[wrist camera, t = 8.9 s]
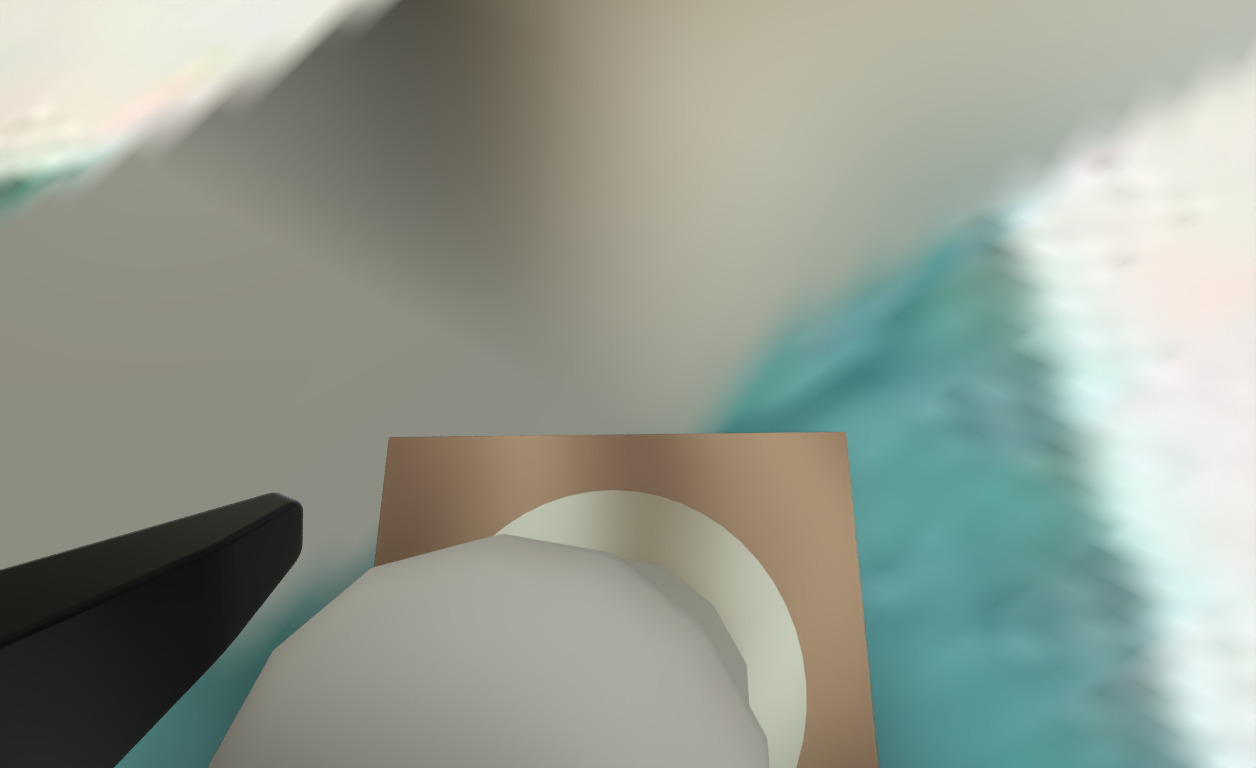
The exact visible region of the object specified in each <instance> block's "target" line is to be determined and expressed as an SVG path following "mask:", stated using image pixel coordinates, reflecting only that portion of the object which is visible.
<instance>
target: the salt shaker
mask: <svg viewBox="0 0 1256 768" xmlns="http://www.w3.org/2000/svg"><path fill="white" fill-rule="evenodd" d="M207 768H770V767H769V755H768V742H767V737H766V735H765V733H764V731H763V730H762V728H761V726H760V724H759V722H758V720H757V719H756V717H755V715H754V713H753V711H752V710H751V708H750V706H749V691H748V675H747V664H746V662H745V660H744V659H743V657H742V655H741V653H740V652H739V650H738V648H737V646H736V645H735V643H734V641H733V639H732V638H731V636H730V634H729V632H728V631H727V629H726V627H725V625H724V624H723V622H722V620H721V618H720V617H719V615H718V613H717V611H716V610H715V608H714V606H713V604H711V603H710V602H709V601H707V600H706V599H705V598H704V597H702V596H701V595H700V594H698V593H697V592H696V591H694V590H693V589H692V588H691V587H689V586H688V585H687V584H685V583H684V582H683V581H681V580H680V579H679V578H678V577H676V576H675V575H674V574H672V573H671V572H670V571H669V570H667V569H666V568H665V567H663V566H661V565H656V564H650V563H644V562H638V561H633V560H627V559H621V558H618V557H617V556H615V555H614V554H613V553H610V552H604V551H598V550H593V549H587V548H581V547H575V546H570V545H564V544H558V543H553V542H547V541H541V540H536V539H530V538H524V537H519V536H513V535H507V534H501V535H496V536H491V537H486V538H482V539H479V540H475V541H471V542H467V543H464V544H460V545H456V546H452V547H448V548H445V549H441V550H437V551H433V552H430V553H426V554H422V555H418V556H414V557H411V558H407V559H403V560H399V561H396V562H392V563H388V564H384V565H380V566H377V567H373V568H370V569H369V570H368V571H367V572H366V573H365V574H363V575H362V576H361V577H360V578H359V579H357V580H356V581H355V582H354V583H353V584H351V585H350V586H349V587H348V588H347V589H346V590H344V591H343V592H342V593H341V594H340V595H338V596H337V597H336V598H335V599H334V600H332V601H331V602H330V603H329V604H328V605H327V606H325V607H324V608H323V609H322V610H321V611H319V612H318V613H317V614H316V615H315V616H313V617H312V618H311V619H310V620H309V621H308V622H306V623H305V624H304V625H303V626H302V627H300V628H299V629H298V630H297V631H296V632H294V633H293V634H292V635H291V636H290V637H289V638H287V639H286V640H285V641H284V642H283V643H281V644H280V645H279V646H278V647H277V648H275V649H274V650H273V651H272V653H271V655H270V657H269V659H268V660H267V662H266V664H265V666H264V668H263V669H262V671H261V673H260V675H259V676H258V678H257V680H256V682H255V684H254V685H253V687H252V689H251V691H250V692H249V694H248V696H247V698H246V700H245V701H244V703H243V705H242V707H241V709H240V710H239V712H238V714H237V716H236V717H235V719H234V721H233V723H232V725H231V726H230V728H229V730H228V732H227V733H226V735H225V737H224V739H223V741H222V742H221V744H220V746H219V748H218V750H217V751H216V753H215V755H214V757H213V758H212V760H211V762H210V764H209V766H208V767H207Z"/></svg>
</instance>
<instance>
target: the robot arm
mask: <svg viewBox="0 0 1256 768" xmlns="http://www.w3.org/2000/svg"><path fill="white" fill-rule="evenodd" d="M302 531H303V508H302V506H301V504H300V503H299V502H298V501H296V500H294V499H292V498H289V497H287V496H284V495H282V494H279V493H269V494H265V495H261V496H258V497H254V498H251V499H247V500H244V501H240V502H237V503H233V504H230V505H226V506H223V507H219V508H216V509H212V510H208V511H205V512H202V513H198V514H194V515H191V516H188V517H184V518H180V519H177V520H174V521H170V522H167V523H163V524H159V525H156V526H152V527H149V528H145V529H142V530H139V531H135V532H131V533H128V534H124V535H121V536H117V537H114V538H110V539H107V540H104V541H100V542H96V543H93V544H90V545H86V546H82V547H79V548H75V549H72V550H68V551H65V552H61V553H58V554H54V555H51V556H47V557H44V558H40V559H37V560H33V561H30V562H26V563H23V564H19V565H16V566H12V567H8V568H5V569H1V570H0V768H114V767H115V766H116V765H117V764H118V763H119V762H120V761H121V760H122V759H123V757H124V756H125V755H126V754H127V753H128V752H129V751H130V750H131V749H132V748H133V747H134V746H135V745H136V744H137V743H138V742H139V741H140V740H141V739H142V738H143V737H144V736H145V735H146V733H147V732H148V731H149V730H150V729H151V728H152V727H153V726H154V725H155V724H156V723H157V722H158V721H159V720H160V719H161V718H162V717H163V716H164V715H165V714H166V713H167V712H168V711H169V709H170V708H171V707H172V706H173V705H174V704H175V703H176V702H177V701H178V700H179V699H180V698H181V697H182V696H183V695H184V694H185V693H186V692H187V691H188V690H189V689H190V688H191V686H192V685H193V684H194V683H195V682H196V681H197V680H198V679H199V678H200V677H201V676H202V675H203V674H204V673H205V672H206V671H207V670H208V669H209V668H210V667H211V666H212V665H213V663H214V662H215V661H216V660H217V659H218V658H219V657H220V656H221V655H222V654H223V653H224V651H225V650H226V649H227V648H228V647H229V646H230V644H231V643H232V642H233V641H234V640H235V638H236V637H237V636H238V635H239V633H240V632H241V631H242V630H243V628H244V627H245V626H246V625H247V623H248V622H249V621H250V620H251V618H252V617H253V616H254V614H255V613H256V612H257V611H258V609H259V608H260V607H261V606H262V604H263V603H264V602H265V600H266V599H267V598H268V597H269V595H270V594H271V593H272V592H273V590H274V589H275V588H276V586H277V585H278V584H279V583H280V581H281V580H282V579H283V578H284V576H285V575H286V574H287V572H288V571H289V570H290V569H291V567H292V566H293V565H294V563H295V562H296V561H297V559H298V557H299V555H300V553H301V549H302V539H303V538H302V537H303V536H302V534H303V532H302Z"/></svg>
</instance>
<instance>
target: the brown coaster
mask: <svg viewBox="0 0 1256 768" xmlns="http://www.w3.org/2000/svg"><path fill="white" fill-rule="evenodd" d="M501 534H507V535H513V536H519V537H524V538H530V539H536V540H541V541H547V542H553V543H558V544H564V545H570V546H575V547H581V548H587V549H593V550H598V551H604V552H610V553H613V554H614V555H615V556H617V557H618V558H621V559H627V560H633V561H638V562H644V563H650V564H656V565H661V566H663V567H665V568H666V569H667V570H669V571H670V572H671V573H672V574H674V575H675V576H676V577H678V578H679V579H680V580H681V581H683V582H684V583H685V584H687V585H688V586H689V587H691V588H692V589H693V590H694V591H696V592H697V593H698V594H700V595H701V596H702V597H704V598H705V599H706V600H707V601H709V602H710V603H711V604H713V606H714V608H715V610H716V611H717V613H718V615H719V617H720V618H721V620H722V622H723V624H724V625H725V627H726V629H727V631H728V632H729V634H730V636H731V638H732V639H733V641H734V643H735V645H736V646H737V648H738V650H739V652H740V653H741V655H742V657H743V659H744V660H745V662H746V664H747V675H748V691H749V706H750V708H751V710H752V711H753V713H754V715H755V717H756V719H757V720H758V722H759V724H760V726H761V728H762V730H763V731H764V733H765V735H766V737H767V742H768V755H769V767H770V768H879V766H878V756H877V746H876V735H875V725H874V715H873V705H872V695H871V684H870V674H869V664H868V654H867V644H866V633H865V623H864V613H863V603H862V592H861V582H860V572H859V562H858V552H857V541H856V531H855V521H854V511H853V501H852V490H851V480H850V470H849V460H848V450H847V439H846V432H810V433H720V434H631V435H541V436H457V437H456V436H454V437H453V436H451V437H389V441H388V450H387V459H386V467H385V476H384V485H383V494H382V502H381V511H380V520H379V529H378V538H377V547H376V555H375V564H374V567H377V566H380V565H384V564H388V563H392V562H396V561H399V560H403V559H407V558H411V557H414V556H418V555H422V554H426V553H430V552H433V551H437V550H441V549H445V548H448V547H452V546H456V545H460V544H464V543H467V542H471V541H475V540H479V539H482V538H486V537H491V536H496V535H501Z"/></svg>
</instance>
